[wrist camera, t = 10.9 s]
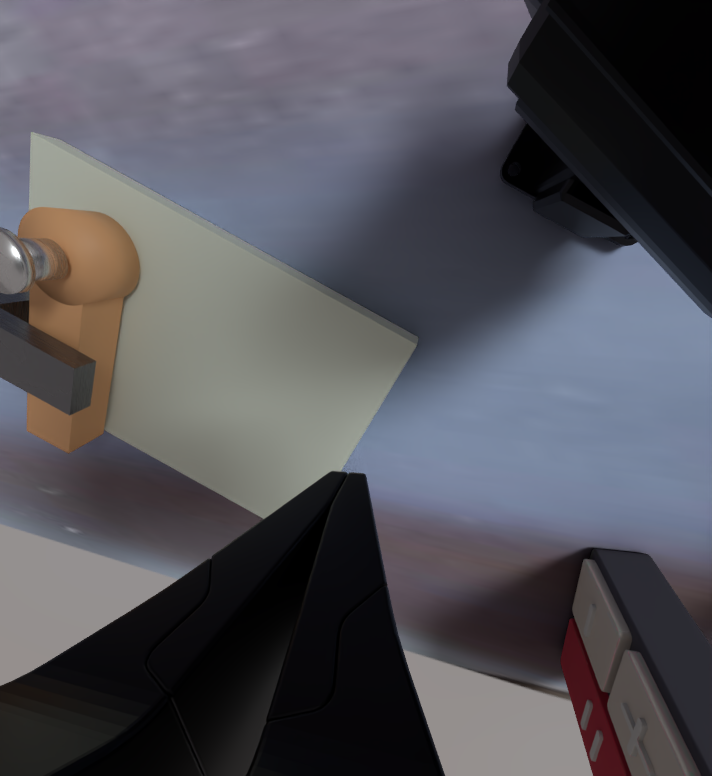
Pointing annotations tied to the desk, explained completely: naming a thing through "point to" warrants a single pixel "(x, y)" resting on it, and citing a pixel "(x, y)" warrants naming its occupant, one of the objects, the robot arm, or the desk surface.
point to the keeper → (27, 343)
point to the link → (80, 310)
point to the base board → (227, 345)
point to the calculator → (637, 671)
